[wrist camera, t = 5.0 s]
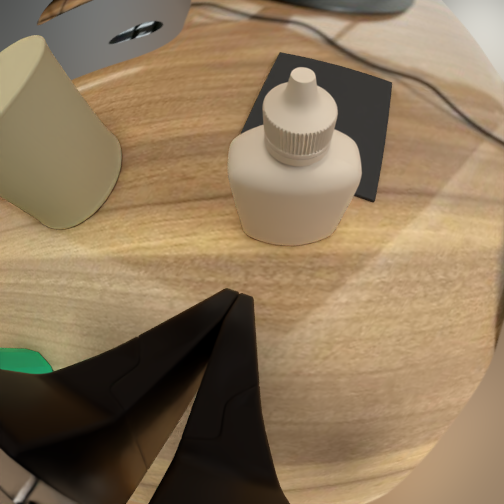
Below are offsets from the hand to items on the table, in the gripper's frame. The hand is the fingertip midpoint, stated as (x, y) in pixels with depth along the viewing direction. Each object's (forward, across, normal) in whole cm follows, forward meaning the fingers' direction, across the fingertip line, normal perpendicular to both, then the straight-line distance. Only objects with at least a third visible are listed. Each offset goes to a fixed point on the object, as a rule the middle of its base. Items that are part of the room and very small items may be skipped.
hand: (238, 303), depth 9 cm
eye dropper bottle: (+11, 0, +2) cm, 11 cm away
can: (+10, +17, +3) cm, 20 cm away
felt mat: (+17, 0, -4) cm, 18 cm away
